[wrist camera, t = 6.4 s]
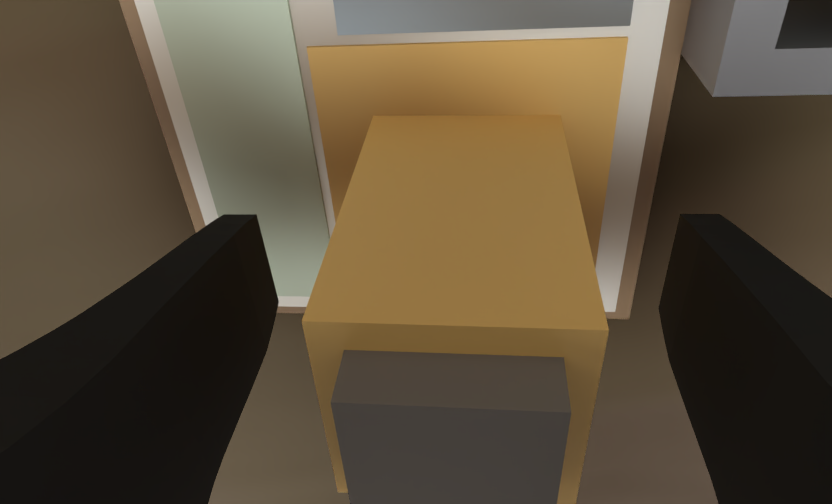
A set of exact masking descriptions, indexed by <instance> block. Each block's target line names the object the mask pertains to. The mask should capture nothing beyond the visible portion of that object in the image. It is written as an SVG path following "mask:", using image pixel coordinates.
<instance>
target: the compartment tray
mask: <svg viewBox="0 0 832 504" xmlns="http://www.w3.org/2000/svg"><path fill="white" fill-rule="evenodd" d="M119 2H120V5H121V8H122V11H123V14H124V17H125V20H126V23H127V26H128V29H129V32H130V35H131V38H132V41H133V44H134V47H135V50H136V53H137V56H138V59H139V62H140V65H141V68H142V71H143V75H144V78H145V81H146V84H147V87H148V90H149V93H150V96H151V99H152V102H153V105H154V108H155V111H156V114H157V117H158V120H159V123H160V126H161V129H162V132H163V135H164V138H165V141H166V144H167V147H168V150H169V153H170V156H171V159H172V162H173V165H174V168H175V171H176V174H177V177H178V180H179V183H180V186H181V189H182V192H183V195H184V198H185V201H186V204H187V207H188V210H189V213H190V216H191V219H192V223H193V226H194V229H195V232H196V233H197V232H198V231H199V230H201V229H202V228H204V227H205V226H206V225H208V224H209V223H211V222H212V221H214V220H215V219H217V218H219V217H220V216H222V215H224V214H257V218H258V222H259V226H260V230H261V234H262V238H263V242H264V245H265V249H266V253H267V257H268V261H269V265H270V269H271V273H272V277H273V281H274V285H275V289H276V293H277V297H278V300H279V304H278V308H277V312H276V313H305V310H306V307H307V304H308V301H309V298H310V295H311V293H312V290H313V287H314V284H315V281H316V278H317V275H318V273H319V270H320V267H321V264H322V261H323V258H324V255H325V252H326V250H327V247H328V244H329V241H330V238H331V235H332V232H333V230H334V227H335V224H336V221H337V218H338V215H339V212H340V209H341V207H342V204H343V201H344V198H345V195H346V192H347V189H348V187H349V184H350V181H351V178H352V175H353V172H354V169H355V167H356V164H357V161H358V158H359V155H360V152H361V149H362V146H363V144H364V141H365V138H366V135H367V132H368V129H369V126H370V124H371V121H372V118H373V116H443V115H561V120H562V124H563V129H564V133H565V138H566V142H567V146H568V151H569V155H570V160H571V164H572V169H573V173H574V177H575V182H576V186H577V191H578V195H579V200H580V204H581V208H582V213H583V217H584V222H585V226H586V231H587V235H588V239H589V244H590V248H591V253H592V257H593V262H594V266H595V270H596V275H597V279H598V284H599V288H600V293H601V297H602V301H603V306H604V310H605V315H606V319H629V317H630V312H631V306H632V301H633V296H634V291H635V286H636V281H637V276H638V271H639V266H640V261H641V255H642V250H643V245H644V240H645V235H646V230H647V225H648V220H649V215H650V209H651V204H652V199H653V194H654V189H655V184H656V179H657V174H658V169H659V164H660V158H661V153H662V148H663V143H664V138H665V133H666V128H667V123H668V118H669V113H670V107H671V102H672V97H673V92H674V87H675V82H676V77H677V72H678V67H679V61H680V56H681V51H682V46H683V41H684V36H685V31H686V26H687V21H688V16H689V10H690V5H691V0H119Z"/></svg>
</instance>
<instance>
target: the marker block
mask: <svg viewBox="0 0 832 504" xmlns="http://www.w3.org/2000/svg"><path fill="white" fill-rule="evenodd" d="M302 326H303V331H304V335H305V340H306V345H307V349H308V354H309V359H310V363H311V368H312V373H313V377H314V382H315V387H316V391H317V396H318V401H319V406H320V410H321V415H322V420H323V424H324V429H325V434H326V438H327V443H328V448H329V452H330V457H331V462H332V467H333V471H334V476H335V481H336V485H337V490H338V492H343V493H348V494H349V500H350V504H576V500H577V495H578V489H579V484H580V479H581V474H582V468H583V463H584V458H585V453H586V448H587V442H588V437H589V432H590V427H591V422H592V416H593V411H594V406H595V401H596V396H597V390H598V385H599V380H600V375H601V369H602V364H603V359H604V354H605V349H606V343H607V338H608V333H609V328H608V324H607V319H606V315H605V310H604V306H603V301H602V297H601V293H600V288H599V284H598V279H597V275H596V270H595V266H594V262H593V257H592V253H591V248H590V244H589V239H588V235H587V231H586V226H585V222H584V217H583V213H582V208H581V204H580V200H579V195H578V191H577V186H576V182H575V177H574V173H573V169H572V164H571V160H570V155H569V151H568V146H567V142H566V138H565V133H564V129H563V124H562V120H561V115H443V116H373V118H372V121H371V124H370V126H369V129H368V132H367V135H366V138H365V141H364V144H363V146H362V149H361V152H360V155H359V158H358V161H357V164H356V167H355V169H354V172H353V175H352V178H351V181H350V184H349V187H348V189H347V192H346V195H345V198H344V201H343V204H342V207H341V209H340V212H339V215H338V218H337V221H336V224H335V227H334V230H333V232H332V235H331V238H330V241H329V244H328V247H327V250H326V252H325V255H324V258H323V261H322V264H321V267H320V270H319V273H318V275H317V278H316V281H315V284H314V287H313V290H312V293H311V295H310V298H309V301H308V304H307V307H306V310H305V313H304V316H303V318H302Z"/></svg>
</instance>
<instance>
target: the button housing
mask: <svg viewBox="0 0 832 504" xmlns="http://www.w3.org/2000/svg"><path fill="white" fill-rule="evenodd" d="M681 55H682V56H683V57H684V59H685V60H686V61H687V63H688V64H689V66H690V67H691V68H692V70H693V71H694V72H695V74H696V75H697V76H698V78H699V79H700V81H701V82H702V83H703V85H704V86H705V87H706V89H707V90H708V91H709V93H710V94H711V96H712V97H734V96H783V95H832V0H792V1H789V0H691V5H690V10H689V16H688V21H687V26H686V31H685V36H684V41H683V46H682V51H681Z"/></svg>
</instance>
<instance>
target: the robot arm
mask: <svg viewBox="0 0 832 504" xmlns="http://www.w3.org/2000/svg"><path fill="white" fill-rule="evenodd" d="M278 304H279V300H278V297H277V293H276V289H275V285H274V281H273V277H272V273H271V269H270V265H269V261H268V257H267V253H266V249H265V245H264V242H263V238H262V234H261V230H260V226H259V222H258V218H257V214H224V215H222V216H220V217H219V218H217V219H215V220H214V221H212V222H211V223H209V224H208V225H206V226H205V227H204V228H202V229H201V230H199V231H198V232H197V233H195V234H194V235H192V236H191V237H190V238H188V239H187V240H186V241H184V242H183V243H182V244H180V245H179V246H177V247H176V248H175V249H173V250H172V251H171V252H169V253H168V254H167V255H165V256H164V257H162V258H161V259H160V260H158V261H157V262H156V263H154V264H153V265H151V266H150V267H149V268H147V269H146V270H145V271H143V272H142V273H140V274H139V275H138V276H136V277H135V278H133V279H132V280H130V281H129V282H127V283H126V284H124V285H123V286H122V287H120V288H119V289H117V290H116V291H114V292H113V293H111V294H110V295H108V296H107V297H105V298H104V299H102V300H101V301H99V302H98V303H96V304H95V305H93V306H92V307H90V308H89V309H87V310H86V311H84V312H83V313H81V314H79V315H78V316H76V317H75V318H73V319H71V320H70V321H68V322H66V323H65V324H63V325H61V326H60V327H58V328H56V329H55V330H53V331H51V332H50V333H48V334H46V335H44V336H42V337H41V338H39V339H37V340H35V341H34V342H32V343H30V344H28V345H26V346H25V347H23V348H21V349H19V350H17V351H15V352H14V353H12V354H10V355H8V356H6V357H4V358H2V359H0V504H208V502H209V498H210V495H211V491H212V488H213V485H214V481H215V479H216V476H217V473H218V470H219V467H220V465H221V462H222V459H223V456H224V454H225V452H226V449H227V447H228V444H229V442H230V440H231V437H232V435H233V432H234V430H235V427H236V425H237V423H238V420H239V418H240V415H241V413H242V411H243V408H244V406H245V403H246V401H247V398H248V396H249V394H250V391H251V389H252V386H253V384H254V381H255V379H256V376H257V374H258V372H259V369H260V367H261V364H262V362H263V359H264V356H265V354H266V351H267V348H268V344H269V341H270V337H271V333H272V329H273V325H274V321H275V317H276V312H277V308H278ZM659 313H660V318H661V323H662V329H663V334H664V339H665V344H666V348H667V353H668V357H669V361H670V364H671V367H672V370H673V373H674V376H675V379H676V382H677V385H678V388H679V390H680V393H681V396H682V399H683V402H684V405H685V407H686V410H687V413H688V416H689V419H690V421H691V424H692V427H693V430H694V432H695V435H696V438H697V441H698V444H699V446H700V449H701V452H702V455H703V458H704V460H705V463H706V466H707V469H708V472H709V474H710V477H711V480H712V483H713V487H714V490H715V493H716V496H717V500H718V503H719V504H832V298H831V297H829V296H828V295H827V294H825V293H824V292H822V291H821V290H820V289H818V288H817V287H816V286H814V285H813V284H811V283H810V282H809V281H807V280H806V279H805V278H803V277H802V276H801V275H799V274H798V273H797V272H795V271H794V270H793V269H791V268H790V267H789V266H788V265H786V264H785V263H784V262H782V261H781V260H780V259H778V258H777V257H776V256H775V255H773V254H772V253H771V252H769V251H768V250H767V249H765V248H764V247H763V246H762V245H760V244H759V243H758V242H756V241H755V240H754V239H753V238H751V237H750V236H749V235H747V234H746V233H745V232H743V231H742V230H741V229H740V228H738V227H737V226H736V225H734V224H733V223H731V222H730V221H729V220H727V219H726V218H724V217H723V216H721V215H720V214H680V218H679V222H678V227H677V231H676V235H675V240H674V244H673V248H672V252H671V257H670V261H669V265H668V270H667V274H666V278H665V283H664V287H663V291H662V296H661V300H660V304H659Z"/></svg>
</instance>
